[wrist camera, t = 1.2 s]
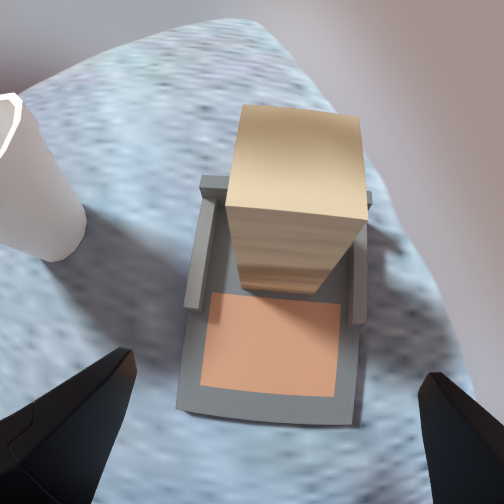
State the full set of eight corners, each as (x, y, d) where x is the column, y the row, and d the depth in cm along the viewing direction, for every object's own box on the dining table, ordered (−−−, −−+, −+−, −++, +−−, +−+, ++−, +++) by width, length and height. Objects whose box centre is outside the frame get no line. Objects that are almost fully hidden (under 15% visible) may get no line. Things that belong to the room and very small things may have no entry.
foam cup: (10, 237, 25) (-76, 172, 13) (69, 169, 28) (2, 80, 15) (52, 301, 23) (-61, 246, 11) (121, 220, 25) (41, 119, 13)
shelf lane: (347, 422, 20) (365, 432, 16) (178, 407, 20) (163, 415, 17) (356, 216, 25) (371, 191, 21) (209, 202, 26) (201, 174, 22)
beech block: (313, 295, 22) (368, 219, 11) (241, 288, 22) (225, 205, 11) (316, 229, 24) (358, 117, 12) (249, 222, 24) (243, 104, 13)
